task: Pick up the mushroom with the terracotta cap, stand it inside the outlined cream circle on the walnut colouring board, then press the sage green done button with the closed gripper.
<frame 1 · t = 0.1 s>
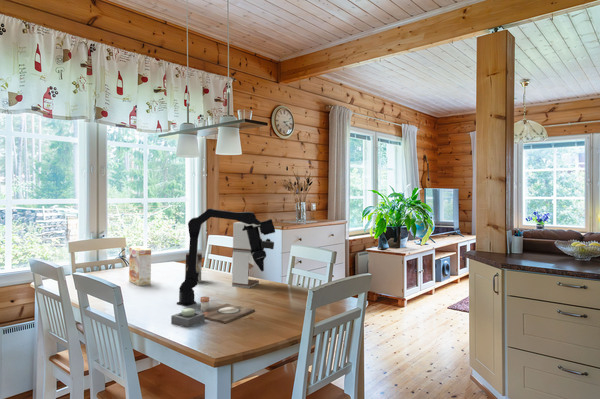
hand: (261, 269, 193), 15 cm above the table, tool pointing down, fingers open, 9 cm apart
coffeecake box: (139, 282, 227), on the table
button housing: (188, 322, 161), on the table
colouring board: (225, 313, 173), on the table
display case: (245, 285, 227), on the table
mushroom: (204, 310, 178), on the table
done button: (188, 312, 161), point 4 cm above the table, slide at 0.0 cm
coffee box: (193, 281, 233), on the table
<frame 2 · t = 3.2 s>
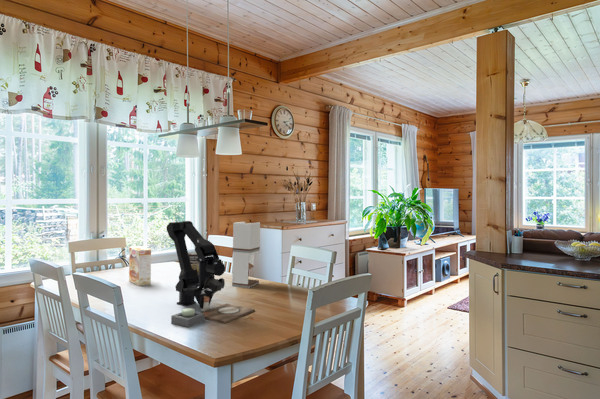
hand: (204, 307, 178), 1 cm above the table, tool pointing down, fingers closed on mushroom, 3 cm apart
mushroom: (204, 310, 178), on the table, touching gripper
everything else where it was.
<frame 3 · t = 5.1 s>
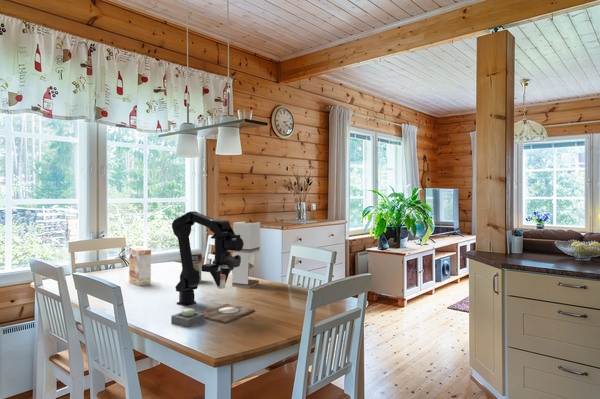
hand: (221, 285, 175), 12 cm above the table, tool pointing down, fingers closed on mushroom, 3 cm apart
mushroom: (221, 287, 175), point 11 cm above the table, touching gripper
everything else where it was.
when the fingers open (3 cm above the table, at t = 6.9 s): mushroom stays where it is, resting on colouring board.
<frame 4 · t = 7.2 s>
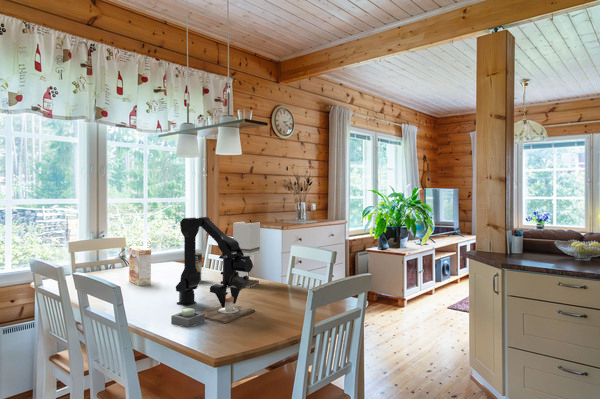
hand: (228, 305, 175), 3 cm above the table, tool pointing down, fingers open, 7 cm apart
mushroom: (228, 310, 175), point 1 cm above the table, touching colouring board
everything else where it was.
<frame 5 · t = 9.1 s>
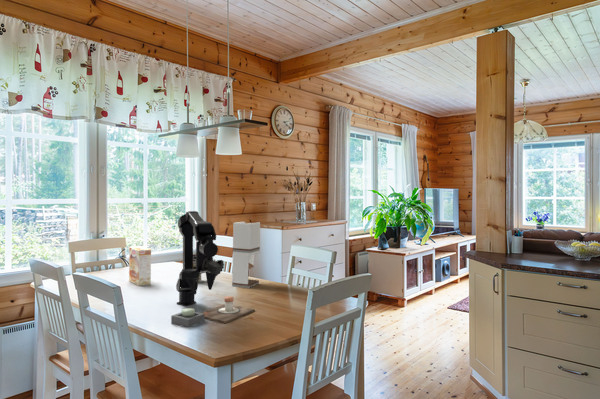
hand: (202, 291, 165), 11 cm above the table, tool pointing down, fingers open, 9 cm apart
nothing on the table moved.
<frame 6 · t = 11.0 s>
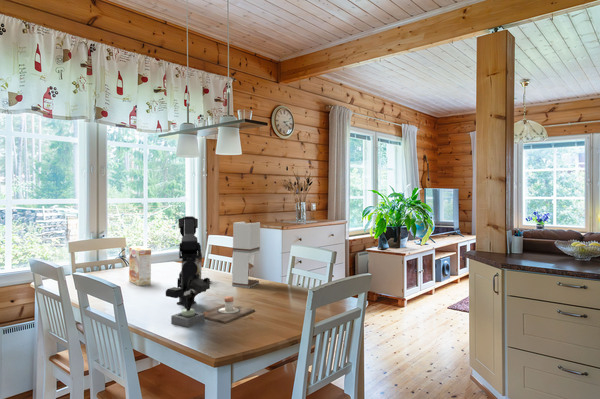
hand: (188, 310, 161), 5 cm above the table, tool pointing down, fingers closed, pressing on done button
done button: (188, 312, 161), point 4 cm above the table, slide at 0.1 cm, touching gripper
everything else where it was.
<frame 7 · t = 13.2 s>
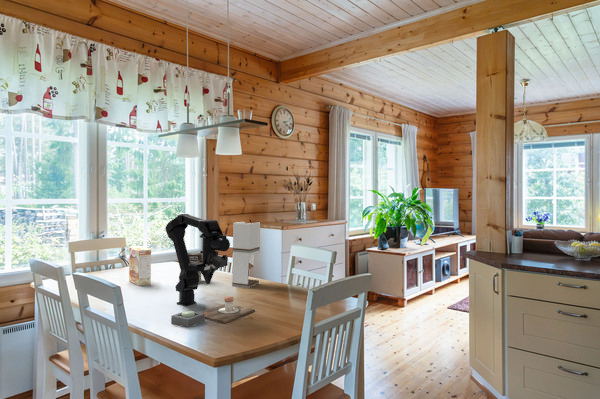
hand: (208, 284, 178), 11 cm above the table, tool pointing down, fingers closed
done button: (188, 315, 161), point 3 cm above the table, slide at 1.0 cm
everything else where it was.
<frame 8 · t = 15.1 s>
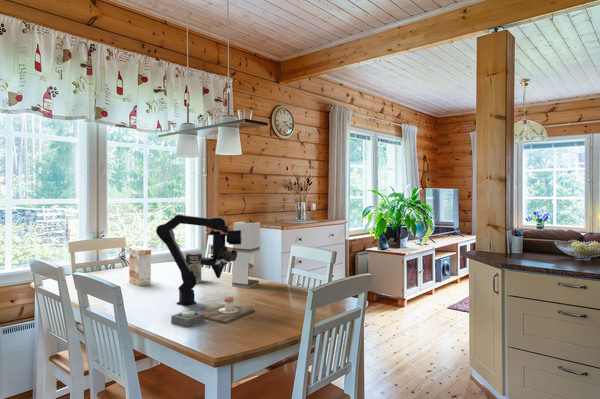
hand: (218, 277, 188), 12 cm above the table, tool pointing down, fingers closed
nothing on the table moved.
at the end: mushroom 0.0 cm from the target spot on the colouring board, point 1.0 cm above the colouring board's base; mushroom tilted 0°; done button slide at 1.0 cm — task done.
